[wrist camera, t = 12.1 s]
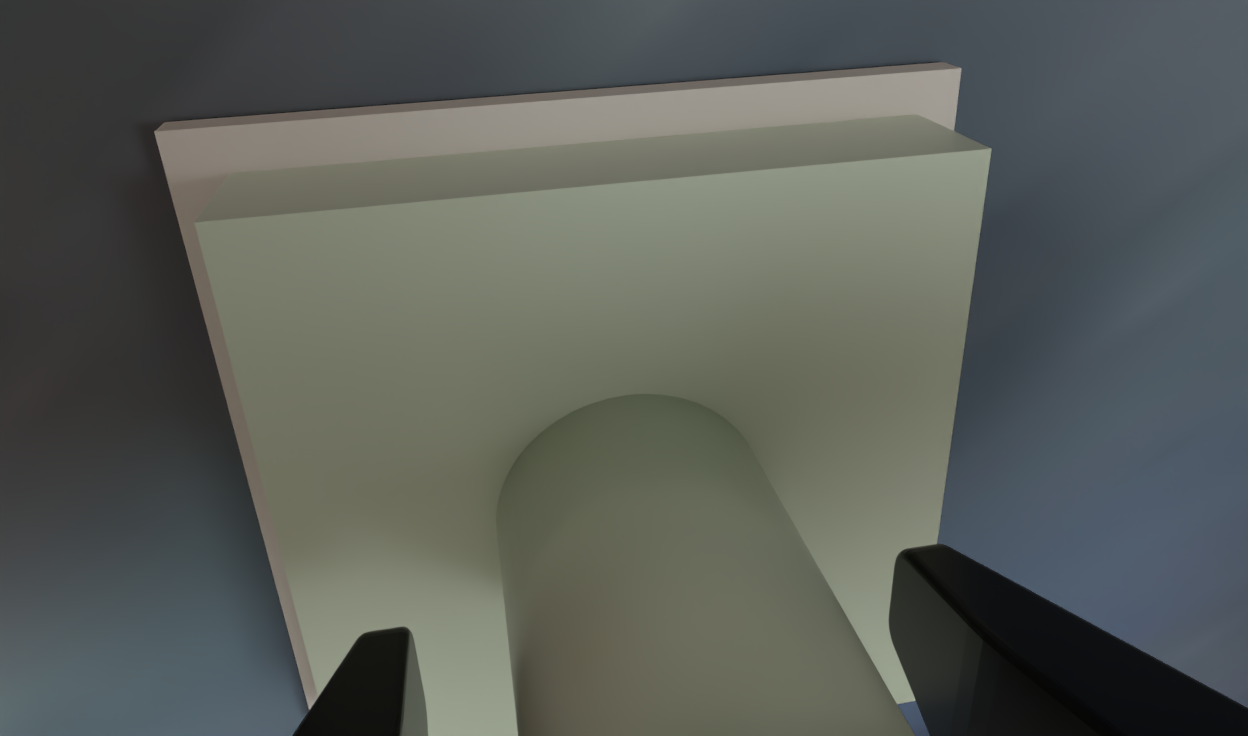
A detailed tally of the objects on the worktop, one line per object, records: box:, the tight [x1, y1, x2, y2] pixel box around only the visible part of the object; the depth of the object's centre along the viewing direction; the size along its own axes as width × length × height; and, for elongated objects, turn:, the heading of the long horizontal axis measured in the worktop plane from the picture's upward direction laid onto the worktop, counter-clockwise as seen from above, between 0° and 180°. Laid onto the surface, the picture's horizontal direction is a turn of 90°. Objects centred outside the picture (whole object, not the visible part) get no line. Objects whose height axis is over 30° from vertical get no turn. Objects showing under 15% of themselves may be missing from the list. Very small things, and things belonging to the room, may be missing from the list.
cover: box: [194, 114, 992, 736], centre depth 9 cm, size 7×7×6 cm
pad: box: [154, 62, 962, 710], centre depth 11 cm, size 8×8×1 cm
